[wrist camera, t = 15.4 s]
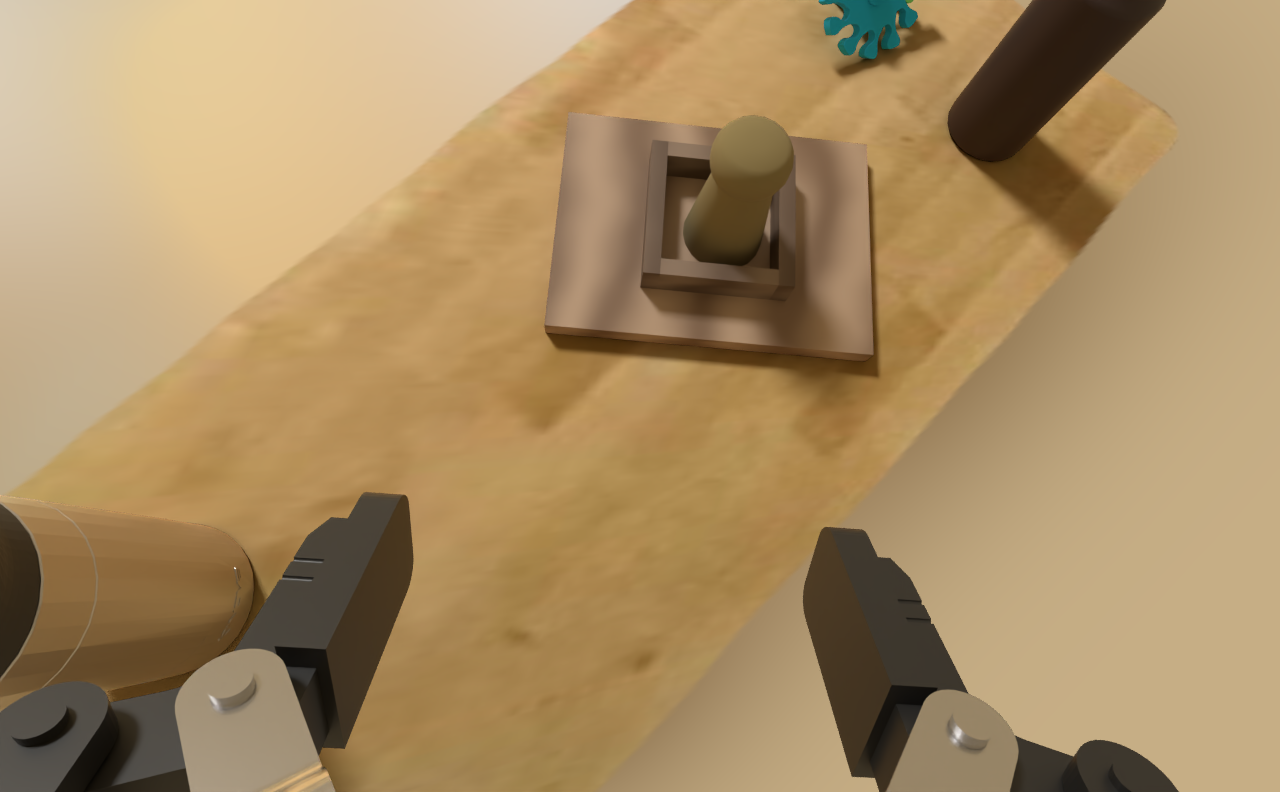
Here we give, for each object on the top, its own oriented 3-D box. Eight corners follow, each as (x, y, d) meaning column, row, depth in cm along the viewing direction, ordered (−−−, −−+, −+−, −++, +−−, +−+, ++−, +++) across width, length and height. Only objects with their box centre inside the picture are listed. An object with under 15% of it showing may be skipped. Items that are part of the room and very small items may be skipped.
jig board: (545, 332, 49) (542, 311, 45) (569, 124, 53) (567, 89, 50) (865, 361, 50) (888, 343, 46) (859, 155, 55) (879, 123, 51)
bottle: (963, 170, 55) (1164, -49, 36) (933, 103, 57) (1110, -141, 38) (1034, 155, 56) (1267, -66, 37) (1003, 90, 58) (1210, -155, 39)
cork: (666, 224, 50) (688, 129, 39) (727, 185, 51) (764, 82, 41) (716, 284, 49) (752, 203, 38) (777, 242, 50) (828, 152, 40)
